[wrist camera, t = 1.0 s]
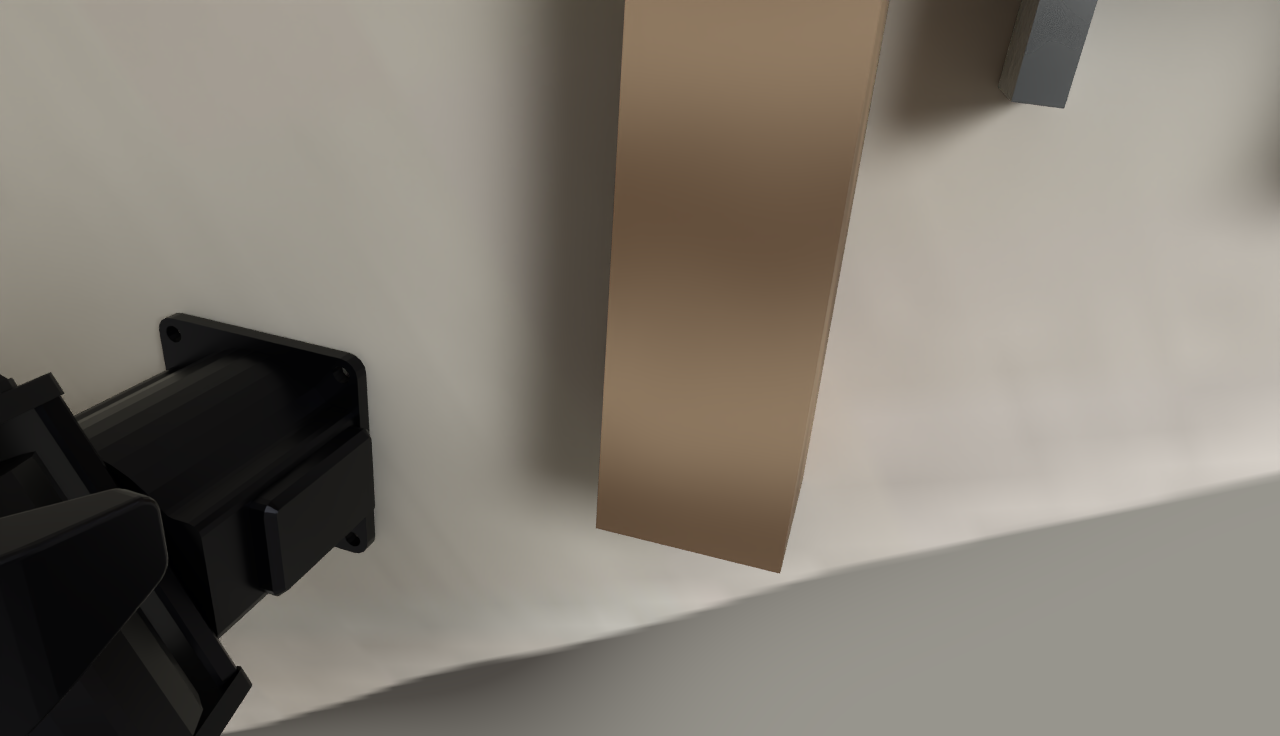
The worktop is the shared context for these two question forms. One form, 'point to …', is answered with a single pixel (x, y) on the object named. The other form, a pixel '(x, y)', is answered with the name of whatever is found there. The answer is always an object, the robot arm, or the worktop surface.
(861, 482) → the worktop surface
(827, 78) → the block
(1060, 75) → the bracket
